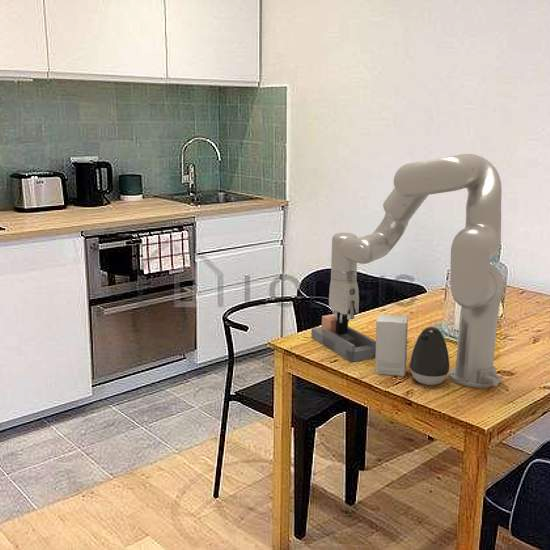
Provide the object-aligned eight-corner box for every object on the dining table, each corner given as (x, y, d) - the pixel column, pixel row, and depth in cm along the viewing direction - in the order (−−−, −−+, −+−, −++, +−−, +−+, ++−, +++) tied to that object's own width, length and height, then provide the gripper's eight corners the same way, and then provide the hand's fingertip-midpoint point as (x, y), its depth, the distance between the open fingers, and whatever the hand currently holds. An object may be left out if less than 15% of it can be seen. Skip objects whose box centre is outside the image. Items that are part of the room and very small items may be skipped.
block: (344, 333, 198) (344, 318, 197) (330, 336, 196) (330, 320, 195) (335, 328, 203) (335, 313, 201) (321, 331, 200) (322, 316, 199)
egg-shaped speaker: (400, 381, 171) (404, 327, 168) (422, 370, 178) (426, 318, 175) (434, 393, 164) (438, 337, 161) (455, 381, 171) (459, 327, 168)
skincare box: (406, 368, 180) (409, 315, 176) (404, 377, 174) (408, 322, 170) (376, 365, 182) (379, 312, 178) (373, 374, 176) (376, 320, 172)
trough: (375, 357, 187) (376, 341, 186) (351, 362, 184) (352, 346, 183) (334, 333, 207) (334, 318, 206) (311, 337, 204) (311, 322, 202)
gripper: (368, 279, 185) (366, 339, 190) (340, 268, 198) (338, 324, 203) (346, 282, 182) (344, 343, 187) (319, 270, 195) (318, 328, 200)
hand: (341, 333), depth 195 cm, fingers closed
